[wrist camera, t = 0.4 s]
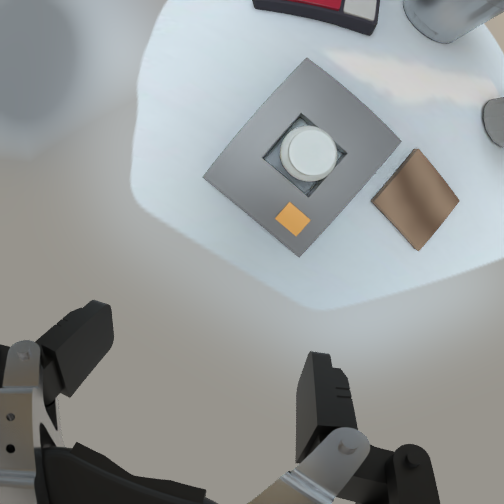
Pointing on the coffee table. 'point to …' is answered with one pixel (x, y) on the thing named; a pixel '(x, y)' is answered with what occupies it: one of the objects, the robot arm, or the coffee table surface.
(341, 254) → the coffee table surface
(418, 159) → the coaster pad
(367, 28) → the calculator
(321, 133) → the supplement bottle
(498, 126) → the water bottle
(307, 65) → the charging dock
